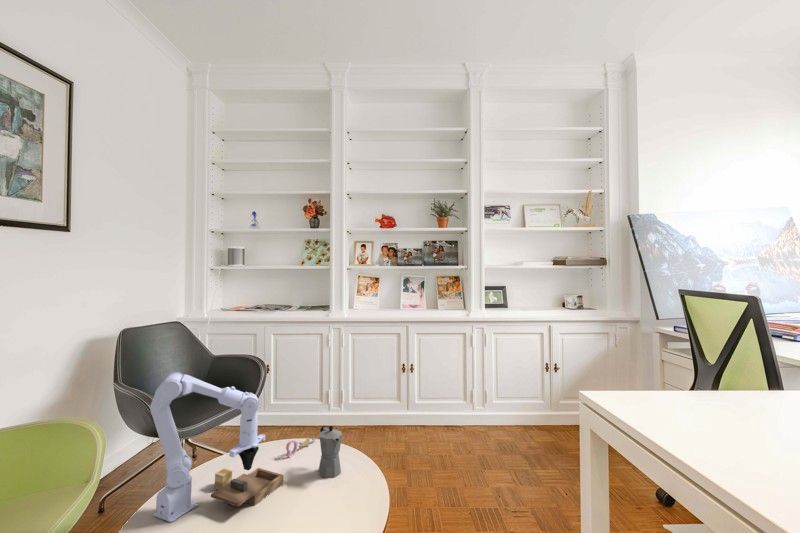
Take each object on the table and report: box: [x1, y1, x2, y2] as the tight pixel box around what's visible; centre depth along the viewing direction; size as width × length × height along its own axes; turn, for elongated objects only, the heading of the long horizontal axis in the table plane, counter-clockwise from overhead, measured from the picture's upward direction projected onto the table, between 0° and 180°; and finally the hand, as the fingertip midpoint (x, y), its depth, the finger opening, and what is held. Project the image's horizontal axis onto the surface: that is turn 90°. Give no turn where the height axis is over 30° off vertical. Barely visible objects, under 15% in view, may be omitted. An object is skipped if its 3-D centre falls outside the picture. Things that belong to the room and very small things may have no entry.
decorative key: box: [285, 437, 317, 458], centre depth 165 cm, size 7×1×20 cm
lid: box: [210, 473, 269, 507], centre depth 126 cm, size 14×12×4 cm
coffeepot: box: [318, 425, 343, 479], centre depth 147 cm, size 15×9×18 cm, turn 36°
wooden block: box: [214, 468, 233, 490], centre depth 135 cm, size 4×4×5 cm
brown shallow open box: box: [244, 467, 284, 506], centre depth 133 cm, size 14×12×3 cm
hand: (247, 468), depth 130 cm, fingers closed
